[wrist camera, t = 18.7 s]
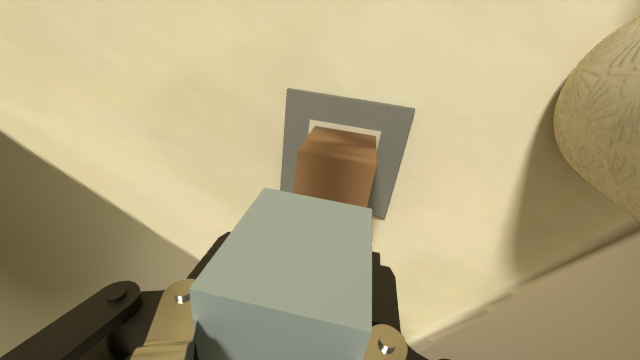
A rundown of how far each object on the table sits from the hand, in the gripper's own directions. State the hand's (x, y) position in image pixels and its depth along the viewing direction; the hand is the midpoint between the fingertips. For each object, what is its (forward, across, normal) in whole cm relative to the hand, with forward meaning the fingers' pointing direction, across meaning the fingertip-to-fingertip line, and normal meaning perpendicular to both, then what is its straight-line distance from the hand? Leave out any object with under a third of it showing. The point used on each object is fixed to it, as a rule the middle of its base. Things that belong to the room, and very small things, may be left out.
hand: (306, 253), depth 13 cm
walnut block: (+12, 0, 0) cm, 12 cm away
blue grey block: (+1, 0, 0) cm, 1 cm away
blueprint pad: (+13, 0, 0) cm, 13 cm away
